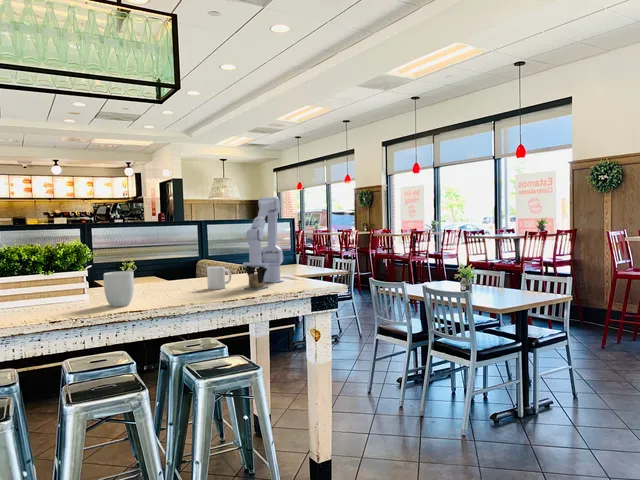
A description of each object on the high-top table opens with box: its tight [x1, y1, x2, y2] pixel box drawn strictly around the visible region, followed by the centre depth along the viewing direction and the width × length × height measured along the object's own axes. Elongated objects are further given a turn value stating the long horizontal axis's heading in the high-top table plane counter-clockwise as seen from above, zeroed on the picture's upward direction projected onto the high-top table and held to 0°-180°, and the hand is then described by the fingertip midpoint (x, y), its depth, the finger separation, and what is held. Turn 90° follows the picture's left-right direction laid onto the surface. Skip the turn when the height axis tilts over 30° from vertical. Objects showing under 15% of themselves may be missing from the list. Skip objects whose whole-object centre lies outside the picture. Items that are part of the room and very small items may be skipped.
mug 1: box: [103, 270, 135, 308], centre depth 194 cm, size 15×11×13 cm
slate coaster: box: [244, 285, 269, 291], centre depth 230 cm, size 8×8×1 cm
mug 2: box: [206, 265, 232, 291], centre depth 234 cm, size 12×8×10 cm
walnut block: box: [248, 272, 265, 288], centre depth 230 cm, size 5×5×6 cm
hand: (256, 282), depth 230 cm, fingers closed on walnut block, 5 cm apart
